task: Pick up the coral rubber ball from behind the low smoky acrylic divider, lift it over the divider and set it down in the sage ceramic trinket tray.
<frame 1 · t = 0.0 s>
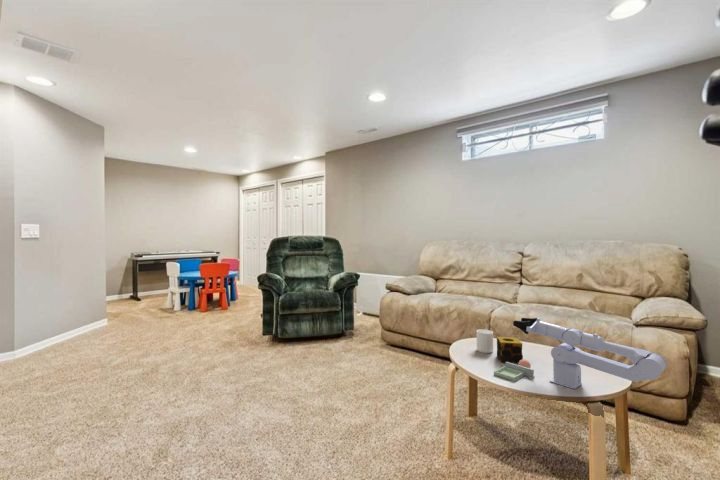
hand: (517, 321, 154), 22 cm above the table, tool horizontal, fingers open, 7 cm apart
tray: (508, 375, 147), on the table
divider: (519, 373, 149), on the table
ball: (524, 365, 152), point 2 cm above the table
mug: (486, 350, 181), on the table
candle: (509, 360, 166), on the table
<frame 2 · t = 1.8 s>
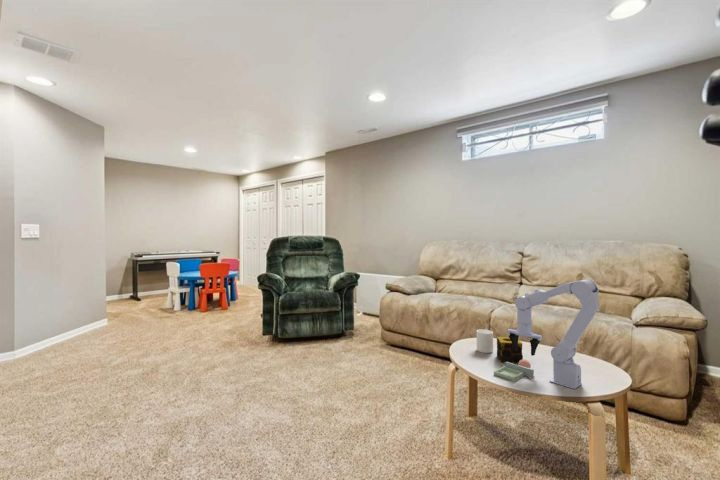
hand: (524, 352, 152), 8 cm above the table, tool pointing down, fingers open, 7 cm apart
nothing on the table moved.
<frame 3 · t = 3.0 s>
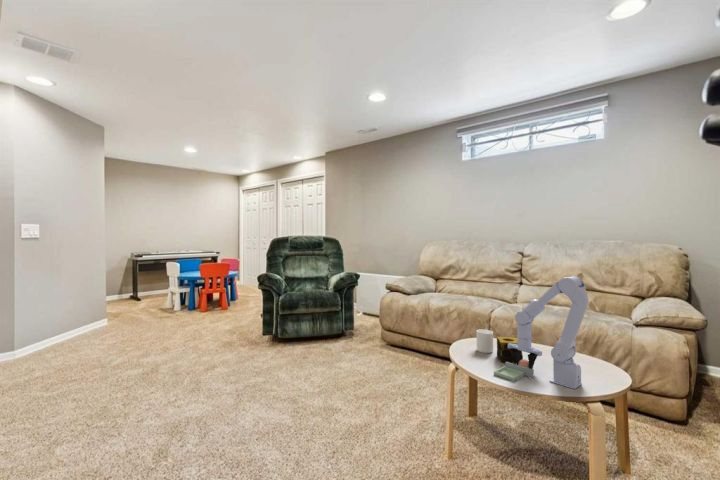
hand: (524, 367, 152), 1 cm above the table, tool pointing down, fingers closed on ball, 5 cm apart
ball: (524, 365, 152), point 2 cm above the table, touching gripper
everything else where it was.
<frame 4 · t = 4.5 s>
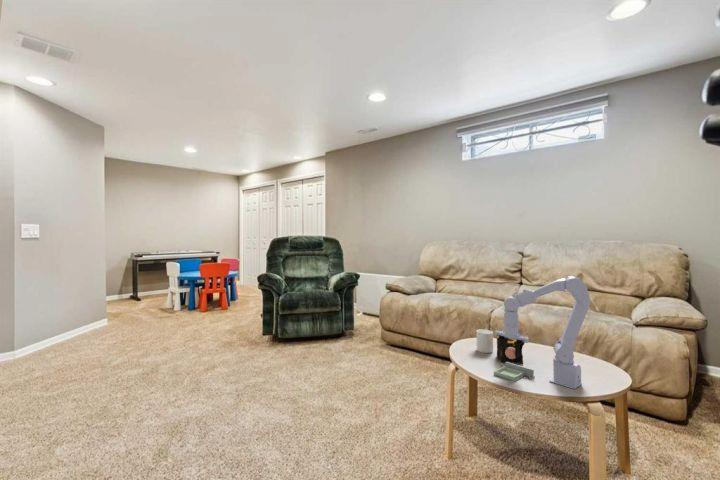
hand: (511, 355, 148), 8 cm above the table, tool pointing down, fingers closed on ball, 5 cm apart
ball: (511, 352, 148), point 9 cm above the table, touching gripper
everything else where it was.
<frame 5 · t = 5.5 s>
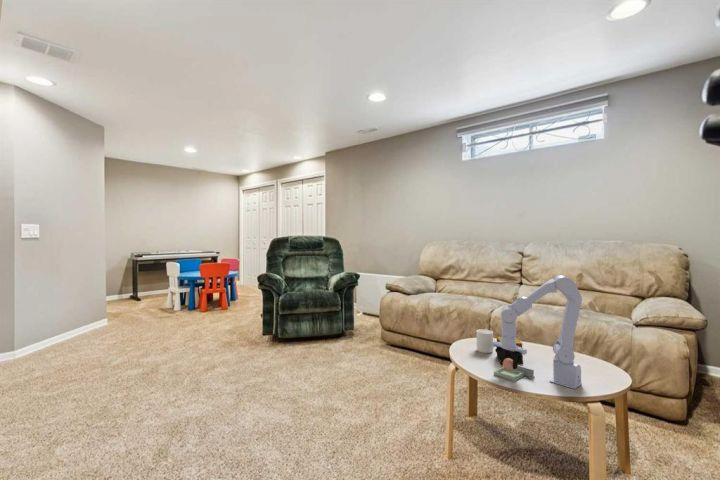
hand: (508, 366, 147), 4 cm above the table, tool pointing down, fingers closed on ball, 5 cm apart
ball: (508, 364, 147), point 5 cm above the table, touching gripper
everything else where it was.
when the fingers open (3 cm above the table, at t = 6.1 s): ball drops 2 cm, resting on tray.
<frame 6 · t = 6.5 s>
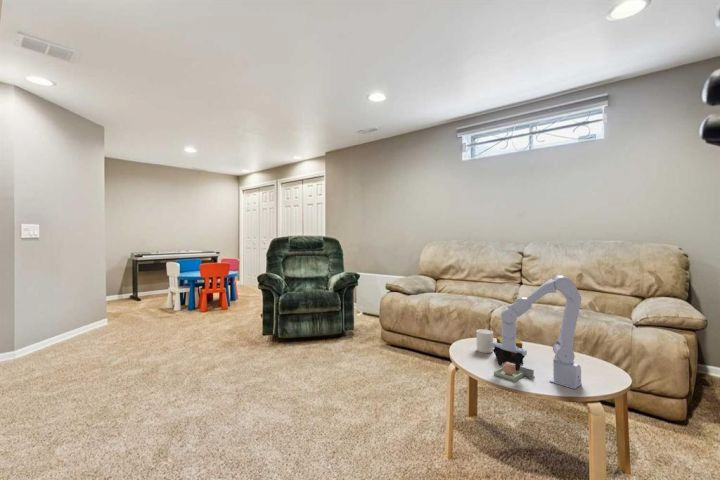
hand: (508, 367, 147), 3 cm above the table, tool pointing down, fingers open, 7 cm apart
ball: (508, 368, 147), point 3 cm above the table, touching tray
everything else where it was.
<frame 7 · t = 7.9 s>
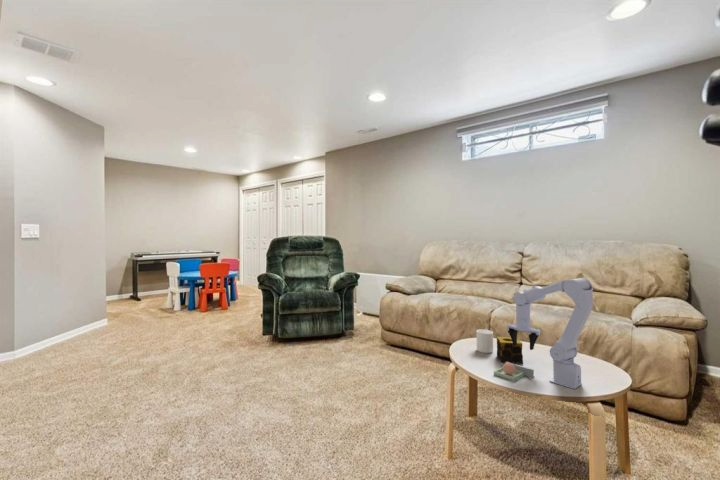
hand: (523, 347, 156), 9 cm above the table, tool pointing down, fingers open, 7 cm apart
nothing on the table moved.
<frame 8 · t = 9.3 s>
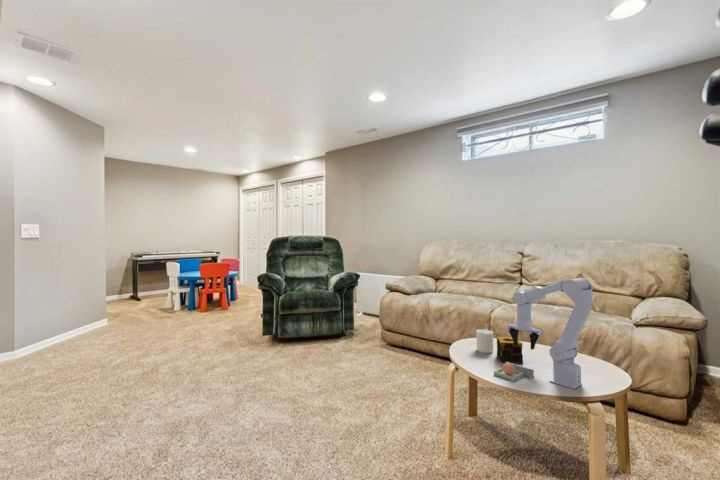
hand: (524, 347, 156), 9 cm above the table, tool pointing down, fingers open, 7 cm apart
nothing on the table moved.
at the end: ball 0.1 cm off-centre on the tray, point 2.9 cm above the tray's base; the gripper is holding nothing; ball inside the target area (0.6 cm from its centre), point 2.9 cm above the table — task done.
